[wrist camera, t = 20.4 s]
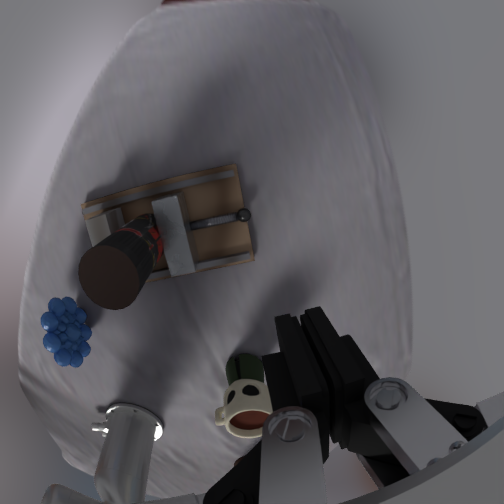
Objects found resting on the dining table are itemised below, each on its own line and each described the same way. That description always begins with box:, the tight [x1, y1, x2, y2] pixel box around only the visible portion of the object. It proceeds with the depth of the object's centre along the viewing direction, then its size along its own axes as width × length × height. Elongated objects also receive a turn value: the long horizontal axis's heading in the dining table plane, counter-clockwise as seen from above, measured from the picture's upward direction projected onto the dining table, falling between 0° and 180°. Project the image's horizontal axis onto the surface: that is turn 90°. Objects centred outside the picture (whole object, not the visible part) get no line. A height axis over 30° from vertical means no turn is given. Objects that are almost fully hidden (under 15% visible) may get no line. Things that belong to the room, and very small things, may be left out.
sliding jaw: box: [151, 191, 251, 277], centre depth 34 cm, size 11×9×5 cm
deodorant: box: [78, 213, 164, 310], centre depth 29 cm, size 6×6×15 cm
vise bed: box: [81, 164, 255, 283], centre depth 34 cm, size 22×13×6 cm, turn 100°
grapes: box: [41, 297, 92, 367], centre depth 34 cm, size 12×7×12 cm, turn 5°
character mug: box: [215, 354, 273, 438], centre depth 39 cm, size 11×7×13 cm, turn 114°
